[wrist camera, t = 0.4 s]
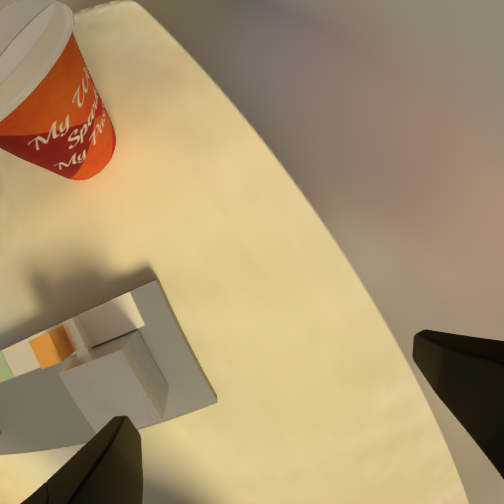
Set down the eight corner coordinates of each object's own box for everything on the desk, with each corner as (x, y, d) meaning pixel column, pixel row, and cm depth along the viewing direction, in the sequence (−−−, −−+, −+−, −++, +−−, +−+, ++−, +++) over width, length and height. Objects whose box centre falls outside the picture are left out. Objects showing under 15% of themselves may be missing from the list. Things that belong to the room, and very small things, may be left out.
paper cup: (113, 200, 20) (3, 123, 6) (35, 188, 18) (-84, 132, 5) (141, 107, 20) (99, -27, 6) (64, 103, 19) (-11, 3, 5)
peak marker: (79, 348, 17) (62, 361, 14) (60, 356, 17) (42, 369, 14) (67, 322, 17) (48, 332, 14) (48, 331, 17) (28, 341, 14)
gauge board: (216, 395, 21) (222, 439, 14) (-7, 450, 16) (-31, 475, 10) (158, 278, 20) (140, 287, 14) (-51, 375, 15) (-82, 390, 9)
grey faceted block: (169, 388, 19) (162, 419, 14) (115, 406, 18) (99, 437, 13) (121, 295, 18) (99, 305, 14) (68, 319, 17) (38, 333, 13)
